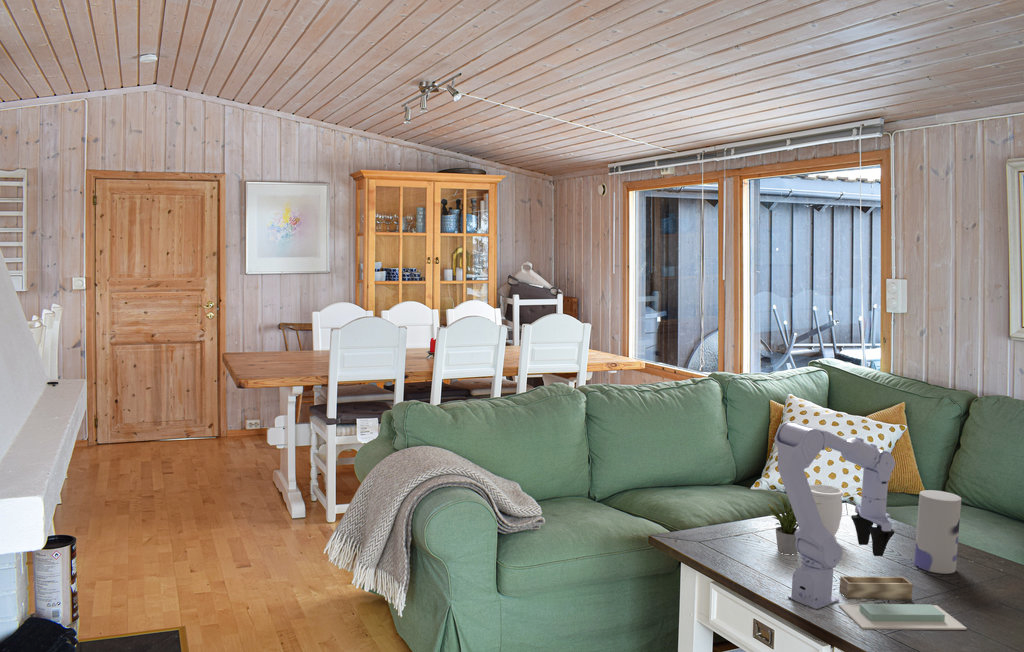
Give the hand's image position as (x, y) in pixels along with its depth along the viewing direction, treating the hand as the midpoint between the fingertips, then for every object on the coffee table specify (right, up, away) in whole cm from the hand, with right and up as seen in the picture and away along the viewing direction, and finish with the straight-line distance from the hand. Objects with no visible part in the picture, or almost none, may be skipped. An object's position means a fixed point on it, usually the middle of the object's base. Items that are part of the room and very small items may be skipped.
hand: (870, 550), depth 205 cm
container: (+25, -10, +18) cm, 33 cm away
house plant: (-11, -8, +27) cm, 30 cm away
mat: (+1, -12, -14) cm, 19 cm away
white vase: (+2, -7, +38) cm, 39 cm away
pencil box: (0, -11, -2) cm, 11 cm away
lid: (+1, -11, -14) cm, 18 cm away
